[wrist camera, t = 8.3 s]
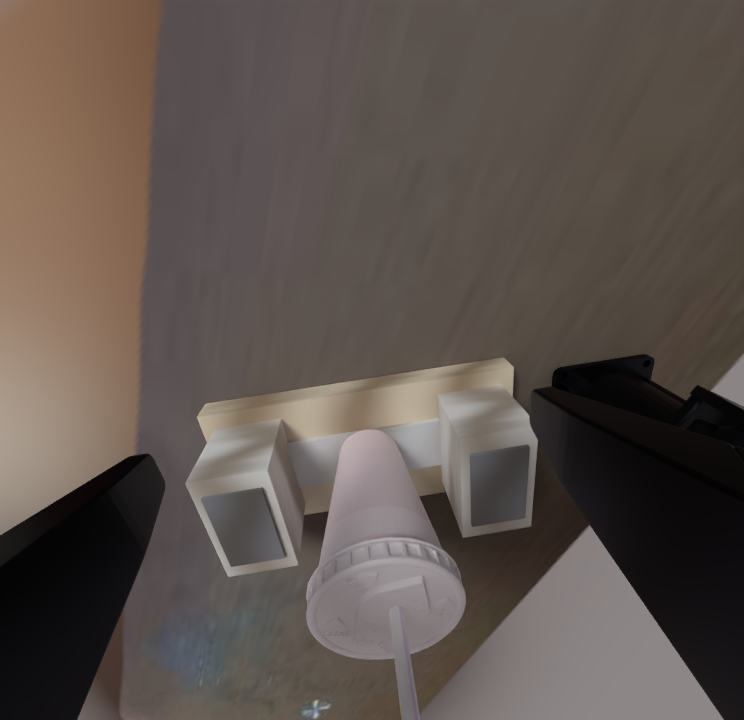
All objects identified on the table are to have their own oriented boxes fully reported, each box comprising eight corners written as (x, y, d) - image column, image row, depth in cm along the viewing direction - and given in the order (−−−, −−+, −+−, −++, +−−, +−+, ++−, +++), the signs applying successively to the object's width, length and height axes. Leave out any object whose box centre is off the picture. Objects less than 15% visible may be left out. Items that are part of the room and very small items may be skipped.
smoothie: (438, 437, 23) (566, 745, 10) (383, 504, 25) (431, 833, 12) (351, 393, 21) (369, 703, 8) (299, 470, 23) (249, 815, 10)
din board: (503, 357, 23) (557, 409, 17) (500, 466, 26) (544, 539, 21) (205, 403, 22) (160, 472, 17) (245, 508, 26) (219, 593, 20)
